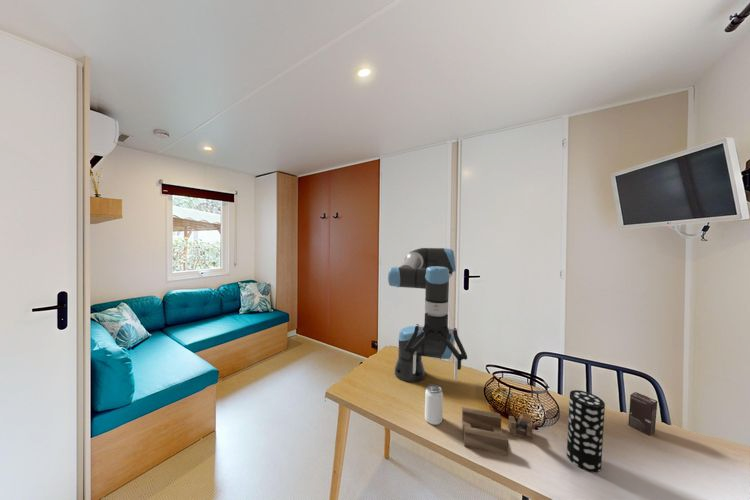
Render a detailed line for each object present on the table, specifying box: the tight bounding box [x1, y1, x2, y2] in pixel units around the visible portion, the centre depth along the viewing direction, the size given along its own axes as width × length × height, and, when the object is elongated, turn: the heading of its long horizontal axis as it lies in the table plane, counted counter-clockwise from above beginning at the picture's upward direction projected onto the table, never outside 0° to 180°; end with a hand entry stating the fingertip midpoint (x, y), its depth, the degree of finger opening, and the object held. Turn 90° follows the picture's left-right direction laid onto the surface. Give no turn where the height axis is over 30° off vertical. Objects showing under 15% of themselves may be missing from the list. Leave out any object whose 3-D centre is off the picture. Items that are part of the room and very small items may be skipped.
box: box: [627, 391, 658, 437], centre depth 93 cm, size 6×4×12 cm
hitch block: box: [461, 406, 533, 457], centre depth 87 cm, size 14×23×5 cm, turn 75°
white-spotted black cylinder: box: [566, 389, 606, 473], centre depth 79 cm, size 8×8×20 cm
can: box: [424, 384, 444, 426], centre depth 96 cm, size 6×6×12 cm
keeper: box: [516, 412, 532, 430], centre depth 87 cm, size 11×3×2 cm
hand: (434, 374), depth 86 cm, fingers open, 13 cm apart
